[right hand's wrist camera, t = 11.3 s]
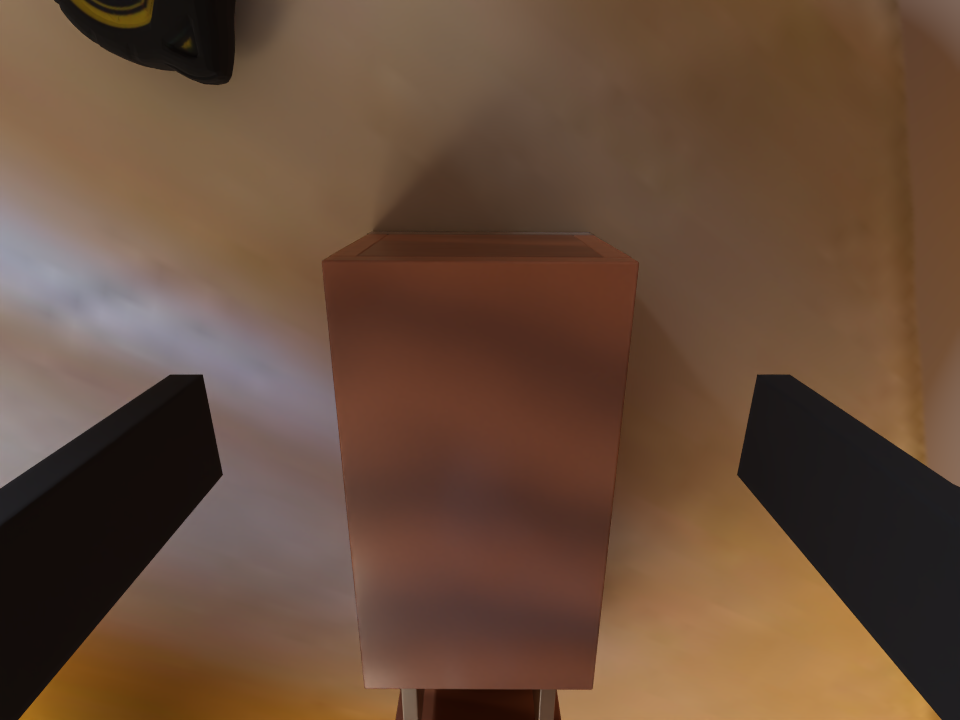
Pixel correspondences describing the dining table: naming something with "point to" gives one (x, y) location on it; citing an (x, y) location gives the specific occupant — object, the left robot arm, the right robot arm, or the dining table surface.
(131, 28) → the tape measure
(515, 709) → the drawer
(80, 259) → the dining table surface
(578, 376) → the cabinet
